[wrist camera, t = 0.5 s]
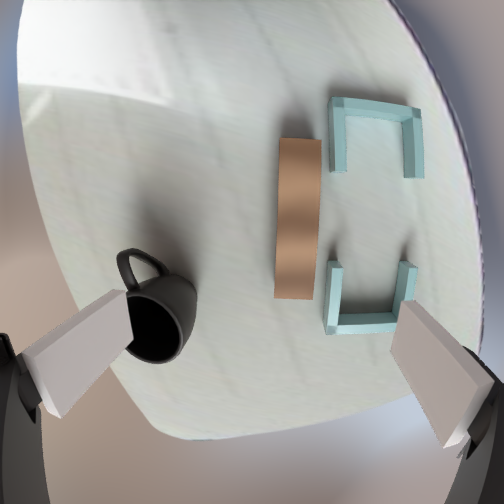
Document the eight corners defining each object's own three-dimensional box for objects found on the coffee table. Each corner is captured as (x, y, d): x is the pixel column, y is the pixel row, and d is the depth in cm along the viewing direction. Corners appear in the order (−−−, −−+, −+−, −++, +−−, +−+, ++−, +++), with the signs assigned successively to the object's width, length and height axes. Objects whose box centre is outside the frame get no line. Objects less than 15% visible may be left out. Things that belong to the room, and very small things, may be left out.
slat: (279, 144, 29) (279, 137, 25) (315, 146, 29) (321, 139, 24) (274, 283, 33) (273, 298, 29) (308, 284, 33) (312, 299, 28)
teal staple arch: (327, 104, 27) (332, 96, 24) (409, 114, 26) (420, 109, 23) (330, 172, 29) (335, 171, 26) (412, 178, 28) (424, 178, 25)
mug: (188, 227, 32) (154, 244, 23) (215, 319, 35) (194, 362, 25) (131, 242, 33) (87, 262, 24) (159, 327, 36) (128, 365, 26)
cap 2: (398, 319, 32) (406, 330, 29) (322, 322, 33) (326, 334, 30) (407, 260, 30) (417, 267, 27) (327, 260, 31) (332, 268, 28)
